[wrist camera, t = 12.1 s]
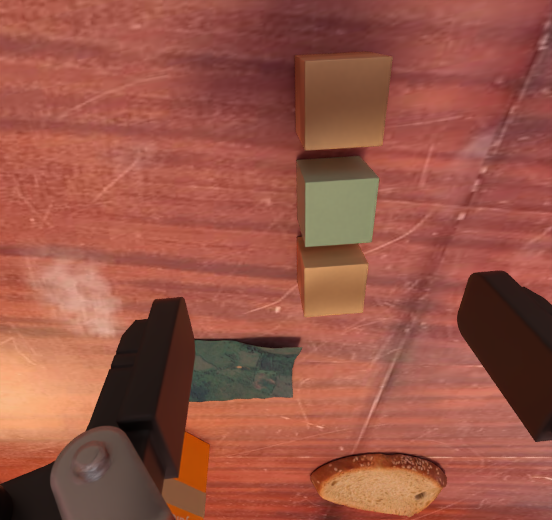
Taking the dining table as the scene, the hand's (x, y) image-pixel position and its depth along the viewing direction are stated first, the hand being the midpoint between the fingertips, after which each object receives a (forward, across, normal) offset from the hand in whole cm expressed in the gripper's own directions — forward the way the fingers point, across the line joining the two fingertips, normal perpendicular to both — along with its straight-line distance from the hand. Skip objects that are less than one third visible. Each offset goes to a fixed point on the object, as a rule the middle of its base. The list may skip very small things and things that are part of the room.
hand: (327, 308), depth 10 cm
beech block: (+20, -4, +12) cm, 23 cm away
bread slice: (+19, -14, +53) cm, 58 cm away
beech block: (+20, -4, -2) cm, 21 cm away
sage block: (+20, -4, +5) cm, 21 cm away
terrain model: (+20, +5, +25) cm, 32 cm away
